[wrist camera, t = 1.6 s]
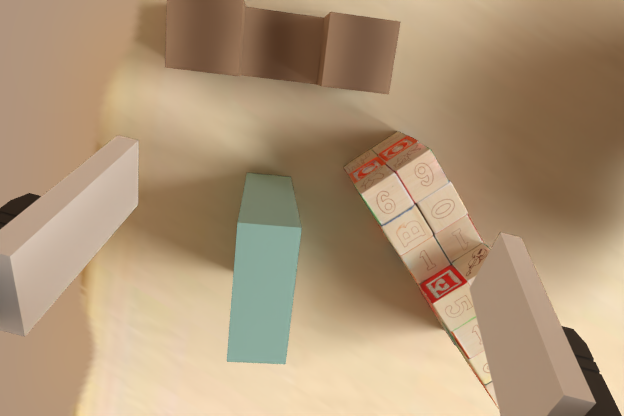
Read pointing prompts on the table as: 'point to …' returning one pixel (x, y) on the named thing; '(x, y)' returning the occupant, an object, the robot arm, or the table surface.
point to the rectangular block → (264, 270)
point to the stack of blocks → (428, 235)
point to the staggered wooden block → (281, 44)
